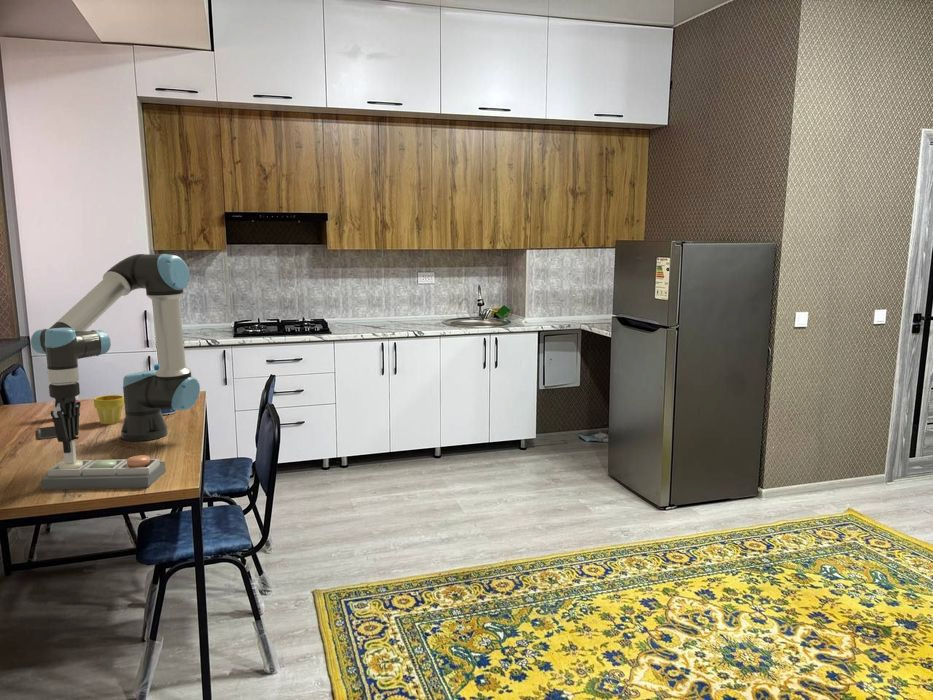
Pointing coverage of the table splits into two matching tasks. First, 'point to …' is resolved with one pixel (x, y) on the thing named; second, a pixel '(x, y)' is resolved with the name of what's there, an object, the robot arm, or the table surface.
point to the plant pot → (109, 408)
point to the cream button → (71, 465)
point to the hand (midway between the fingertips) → (70, 462)
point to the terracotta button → (138, 461)
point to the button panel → (103, 476)
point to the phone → (46, 433)
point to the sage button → (105, 464)
